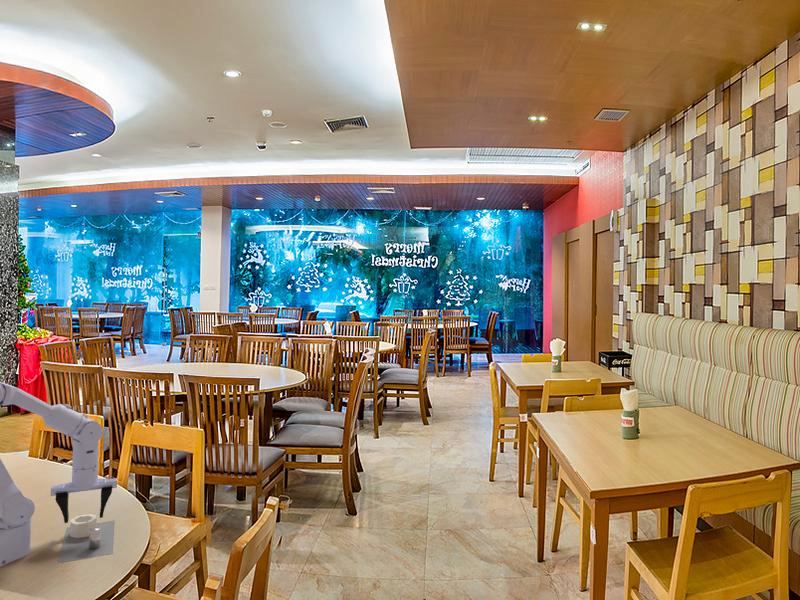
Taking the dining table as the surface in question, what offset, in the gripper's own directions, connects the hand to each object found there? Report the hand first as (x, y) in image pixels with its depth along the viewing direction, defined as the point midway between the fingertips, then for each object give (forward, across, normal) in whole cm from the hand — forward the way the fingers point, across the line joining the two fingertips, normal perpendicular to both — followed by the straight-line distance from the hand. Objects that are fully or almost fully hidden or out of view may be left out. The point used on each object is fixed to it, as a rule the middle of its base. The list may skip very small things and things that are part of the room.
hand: (84, 518), depth 134 cm
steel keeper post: (+3, -3, +10) cm, 11 cm away
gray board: (+5, -1, +5) cm, 7 cm away
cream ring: (+3, 0, 0) cm, 4 cm away
